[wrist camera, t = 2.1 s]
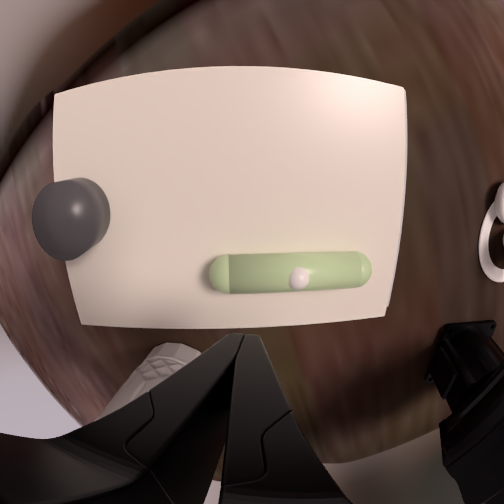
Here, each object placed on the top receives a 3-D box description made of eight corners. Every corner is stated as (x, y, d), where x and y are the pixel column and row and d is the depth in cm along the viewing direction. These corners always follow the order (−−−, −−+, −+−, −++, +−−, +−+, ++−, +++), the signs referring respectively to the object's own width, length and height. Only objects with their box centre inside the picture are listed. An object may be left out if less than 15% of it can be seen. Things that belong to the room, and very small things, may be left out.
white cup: (216, 337, 23) (175, 433, 13) (230, 401, 25) (205, 487, 16) (134, 333, 24) (75, 406, 14) (157, 393, 26) (118, 465, 17)
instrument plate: (394, 90, 12) (425, 80, 9) (377, 308, 16) (400, 334, 14) (59, 98, 11) (28, 90, 8) (83, 315, 15) (62, 343, 12)
